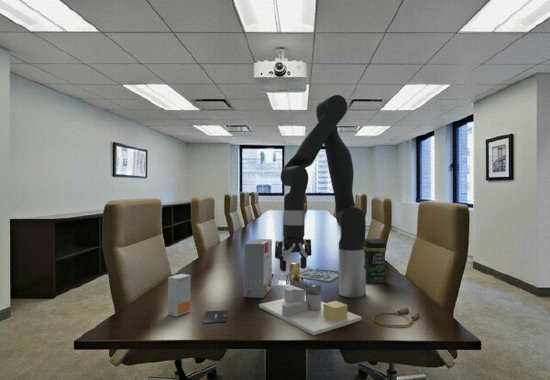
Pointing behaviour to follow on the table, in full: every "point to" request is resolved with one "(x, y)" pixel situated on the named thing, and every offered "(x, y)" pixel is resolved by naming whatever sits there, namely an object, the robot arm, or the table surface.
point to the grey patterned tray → (317, 274)
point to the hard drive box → (257, 267)
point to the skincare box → (179, 294)
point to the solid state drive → (215, 316)
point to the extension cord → (400, 311)
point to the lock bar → (295, 280)
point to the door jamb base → (310, 311)
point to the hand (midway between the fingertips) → (293, 269)
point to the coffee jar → (375, 260)
